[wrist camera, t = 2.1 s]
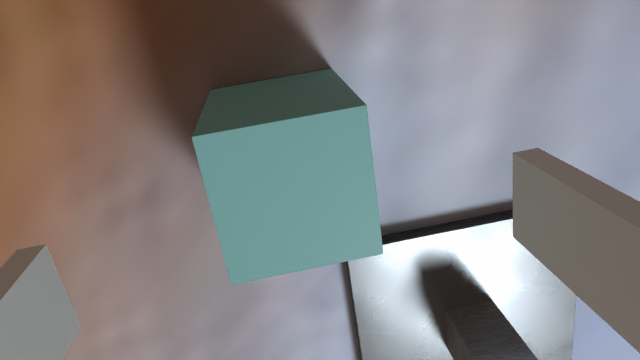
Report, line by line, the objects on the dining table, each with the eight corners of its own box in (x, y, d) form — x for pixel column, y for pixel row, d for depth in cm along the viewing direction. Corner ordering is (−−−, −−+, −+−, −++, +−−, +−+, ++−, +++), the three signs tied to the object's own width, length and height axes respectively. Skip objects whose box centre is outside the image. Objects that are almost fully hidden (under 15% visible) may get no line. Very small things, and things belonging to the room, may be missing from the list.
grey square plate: (343, 243, 24) (373, 327, 18) (573, 197, 25) (672, 263, 19) (369, 417, 28) (399, 527, 23) (561, 374, 29) (638, 470, 23)
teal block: (210, 89, 20) (191, 136, 14) (331, 68, 20) (366, 105, 14) (237, 200, 22) (231, 284, 16) (346, 179, 23) (383, 254, 16)
